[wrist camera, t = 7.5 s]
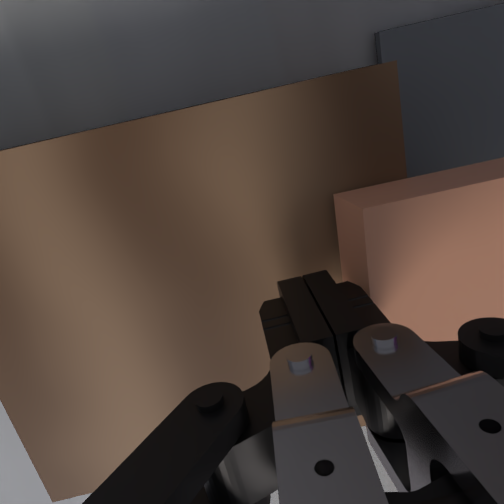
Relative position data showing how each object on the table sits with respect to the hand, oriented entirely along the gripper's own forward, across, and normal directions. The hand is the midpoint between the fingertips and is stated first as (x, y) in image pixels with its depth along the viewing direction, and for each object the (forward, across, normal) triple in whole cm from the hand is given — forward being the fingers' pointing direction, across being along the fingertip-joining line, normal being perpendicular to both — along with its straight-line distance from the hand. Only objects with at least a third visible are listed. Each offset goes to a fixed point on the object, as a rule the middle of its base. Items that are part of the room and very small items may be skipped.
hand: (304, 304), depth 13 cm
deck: (+5, +3, 0) cm, 6 cm away
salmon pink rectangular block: (+1, -5, 0) cm, 6 cm away
